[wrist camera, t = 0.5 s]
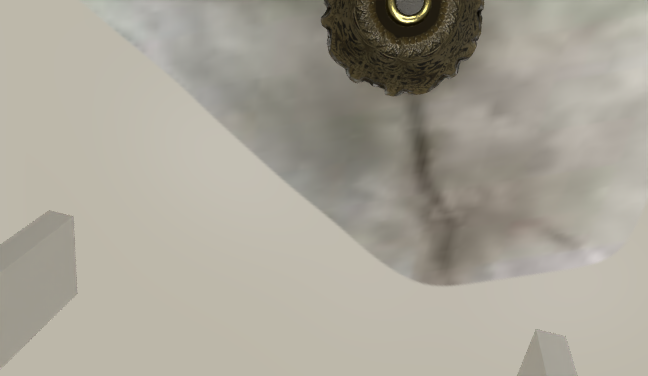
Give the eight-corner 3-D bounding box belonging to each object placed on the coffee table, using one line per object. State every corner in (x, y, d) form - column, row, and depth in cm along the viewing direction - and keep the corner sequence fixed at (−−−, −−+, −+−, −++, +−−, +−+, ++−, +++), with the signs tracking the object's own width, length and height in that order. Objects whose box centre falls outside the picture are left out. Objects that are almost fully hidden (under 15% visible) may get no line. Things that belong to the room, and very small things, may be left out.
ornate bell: (499, -39, 31) (516, -33, 24) (441, 82, 34) (440, 120, 27) (375, -90, 31) (355, -99, 24) (329, 35, 35) (299, 60, 27)
